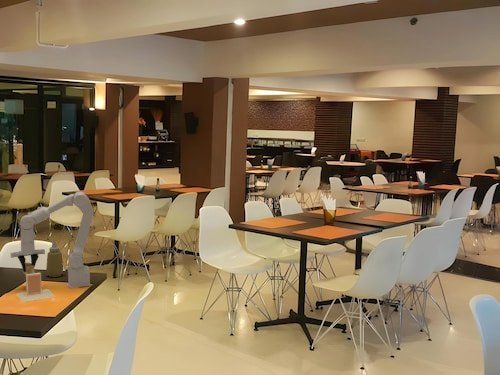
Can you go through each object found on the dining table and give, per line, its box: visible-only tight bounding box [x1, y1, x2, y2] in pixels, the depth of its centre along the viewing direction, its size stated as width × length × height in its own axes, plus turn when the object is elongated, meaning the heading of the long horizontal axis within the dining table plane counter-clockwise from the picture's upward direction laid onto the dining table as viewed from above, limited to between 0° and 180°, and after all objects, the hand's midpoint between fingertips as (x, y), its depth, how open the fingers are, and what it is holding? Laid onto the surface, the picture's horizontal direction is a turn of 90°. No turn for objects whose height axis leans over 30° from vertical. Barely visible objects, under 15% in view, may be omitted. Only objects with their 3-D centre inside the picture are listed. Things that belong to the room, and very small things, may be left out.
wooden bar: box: [22, 261, 35, 276], centre depth 255 cm, size 3×10×4 cm, turn 34°
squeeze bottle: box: [46, 239, 64, 278], centre depth 277 cm, size 8×8×18 cm
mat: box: [15, 288, 57, 303], centre depth 246 cm, size 14×14×1 cm
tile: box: [25, 272, 42, 295], centre depth 247 cm, size 6×2×9 cm, turn 124°
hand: (28, 271), depth 255 cm, fingers closed on wooden bar, 3 cm apart
